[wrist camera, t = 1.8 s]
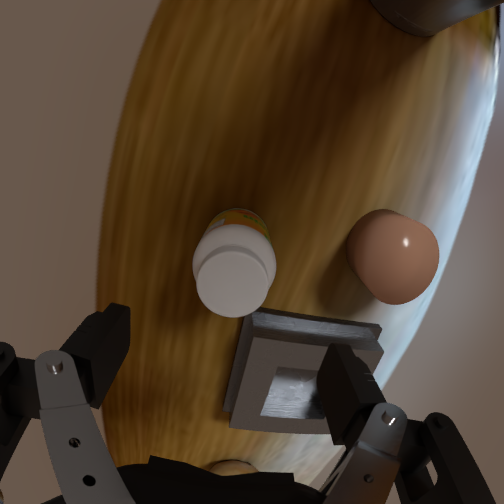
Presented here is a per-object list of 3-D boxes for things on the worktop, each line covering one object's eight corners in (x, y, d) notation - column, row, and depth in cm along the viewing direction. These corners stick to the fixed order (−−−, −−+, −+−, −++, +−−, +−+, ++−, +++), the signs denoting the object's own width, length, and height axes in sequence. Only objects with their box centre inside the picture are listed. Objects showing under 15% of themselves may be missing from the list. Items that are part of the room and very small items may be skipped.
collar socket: (246, 304, 27) (246, 328, 24) (378, 324, 28) (393, 345, 25) (222, 405, 32) (220, 430, 28) (333, 414, 33) (340, 437, 29)
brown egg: (357, 200, 25) (381, 211, 20) (419, 219, 25) (449, 232, 20) (336, 274, 27) (353, 298, 22) (397, 285, 27) (421, 308, 22)
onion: (245, 449, 35) (246, 490, 28) (269, 470, 37) (272, 506, 30) (198, 459, 36) (194, 497, 29) (225, 480, 38) (224, 514, 31)
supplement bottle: (282, 241, 26) (301, 290, 16) (235, 280, 27) (229, 343, 17) (239, 193, 24) (235, 217, 15) (192, 236, 25) (163, 282, 16)
